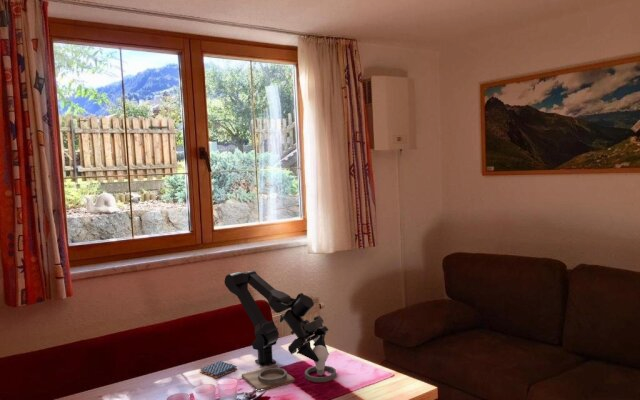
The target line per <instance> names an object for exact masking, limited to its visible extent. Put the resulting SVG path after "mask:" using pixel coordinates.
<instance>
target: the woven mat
mask: <svg viewBox="0 0 640 400" xmlns="http://www.w3.org/2000/svg"><path fill="white" fill-rule="evenodd" d="M237 367H238V366H237V365H235V364H234V365H233V363H229V362H226V361H223V360H220V361H217V362H214V363H211V364H210V365H207V366H204V367H201V368H200V372H199V373H201V374H204V375H208V376H210V377H213V378H215V379H217V378H221V377H222V376H225V375H227V374H229V373H233V372H234V371H236V370H238V368H237Z"/></svg>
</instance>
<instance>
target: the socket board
mask: <svg viewBox="0 0 640 400" xmlns="http://www.w3.org/2000/svg"><path fill="white" fill-rule="evenodd" d="M241 378H242V379H244V380H245V382H246V383H248V384H249V385H250V386H251V387H252V388H253V387H254V388H253V389H254V390H256V389H257V390H261V389H266V390H270V389H273V388H276V387H279V386H280V387H281V386H283V385H284V386H285V385H287V384H291V383H294V382H296V379H295V377H293V376H292V375H290V374H289V373H288V372H287V370H285V369H284V368H281V367H279V366H278V365H273V366H270V367H265V368H262V369H257V370H253V371H250V372H246V373H242V374H241ZM257 390H256V391H257Z"/></svg>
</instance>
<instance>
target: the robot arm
mask: <svg viewBox="0 0 640 400" xmlns="http://www.w3.org/2000/svg"><path fill="white" fill-rule="evenodd" d="M223 282H224V285H225V287H226V289H227V290H228V291H229V292H230V293H232V294H234V295H235V296H236V297H237V298H238V300H239V302H240V303H241V305H242V307H243V309H244V310H245V313H246V314H247V316H248V318H249V319H250V321H251V323H252V325H253V326H254V335H255V339H254V341H253V342H252V343H251V346H252V349H253V350H256V351H257V359H255V360H254V362H255V363H256V364H258V365H259V366H260V367H264V366H267V365H268V366H269V365H271V364H275V363H277V360H275V359H274V358H273V346H276V345H277V342H278V339H279V336H280V334H279V333H280V332H279V331H278V330H279V328H278V327H277V326H276V325H275V322H274V321H273V320H270V321H269V320H267V319H266V318H265V316H264V315H263V312H262V311H261V310H260V308H259V306H258V304H257V302H256V301H255V299H254V297H253V295H252V294H251V292H250V290H249V286H251V287H252V288H253V289H254V290H255V291H257V292H258V293H259V294H260V295H261V296H262V297H264V299H266V301H267V303H268V306H269V307H270V308H271V309H272V311H274V312H275V313H276V314H279V313H282V314H279V315H280V317H279V322H280V323H283V322H285V323H286V324H287V326H288V327H289V329H291V332H290V334H291V335H292V336H293V335H295V336H296V338H295V339H294V340H293V341H292V342H291V343H290V344H289V345H288V346H287V347H288V348H287V350H288V352H289V354H291V355H294V354H295V353H296V354H298V355H299V354H300V355H301V356H304V357H306V358H308V359H310V360H312V361H313V362H314V361H315V362H318V361H319V359H318V357H317V356H316V354H315V353H314V351H313V348H312V347H311V342H314V343H312V346H313V347H315V346H318V345H322V346H324V347H325V348H326V349H327V351H328V348H327V345H326V341H325V339H326V338H325V337H326V336H327V335H326V334H327V333H328V332H329V328H328V326H326V325H323V324H324V319H323V318H322V317H321V316H320V315H317V316H315V317H313V320H312V321H310V320H309V319H304V317H305V316H307V314H308V313H309V312H310V310H311V309H312V308H313V307H314V304H315V302H314V300H313V299H312V297H309V295H305V294H304V293H303V292H300V293H298V294H297V295H296V297H295V298H294V297H291V296H290V295H289V294H287V293H286V292H284V291H281V290H278V289H276V288H274V287H273V286H271V285H270V283H268V282H267V281H266V280H265V279H263V278H262V277H261V276H260V275H259V274H258V273H257V271H255V270H248V271H244V272H242V271H237V272H234V273H233V272H232V273H228V274H226V276H225V279H224V281H223ZM283 312H284V313H283ZM329 355H330V353H329V351H328V356H329ZM315 362H314V363H315Z"/></svg>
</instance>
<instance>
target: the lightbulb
mask: <svg viewBox="0 0 640 400" xmlns="http://www.w3.org/2000/svg"><path fill="white" fill-rule="evenodd" d="M312 350H313V351H314V353H315V354H316V356H317V357H318V359H319V361H318V362H315V361H314V360H313V362H314V364H315V366H316V369H317V371H316V374H317V375H318V377H323V375H324V374H325V370H324V368H325V366H326V362H327V359H328V358H329V355H328V353H329V351H327V350H328V348H327V349H326V348H325V347H324V346H322V345H318V346H313V348H312Z"/></svg>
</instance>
